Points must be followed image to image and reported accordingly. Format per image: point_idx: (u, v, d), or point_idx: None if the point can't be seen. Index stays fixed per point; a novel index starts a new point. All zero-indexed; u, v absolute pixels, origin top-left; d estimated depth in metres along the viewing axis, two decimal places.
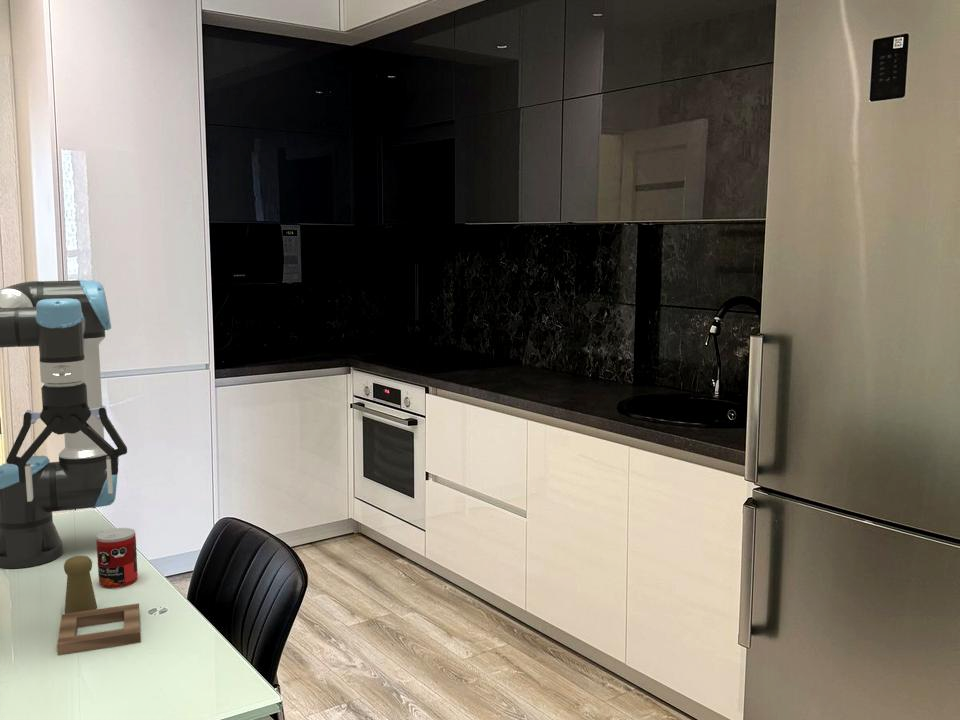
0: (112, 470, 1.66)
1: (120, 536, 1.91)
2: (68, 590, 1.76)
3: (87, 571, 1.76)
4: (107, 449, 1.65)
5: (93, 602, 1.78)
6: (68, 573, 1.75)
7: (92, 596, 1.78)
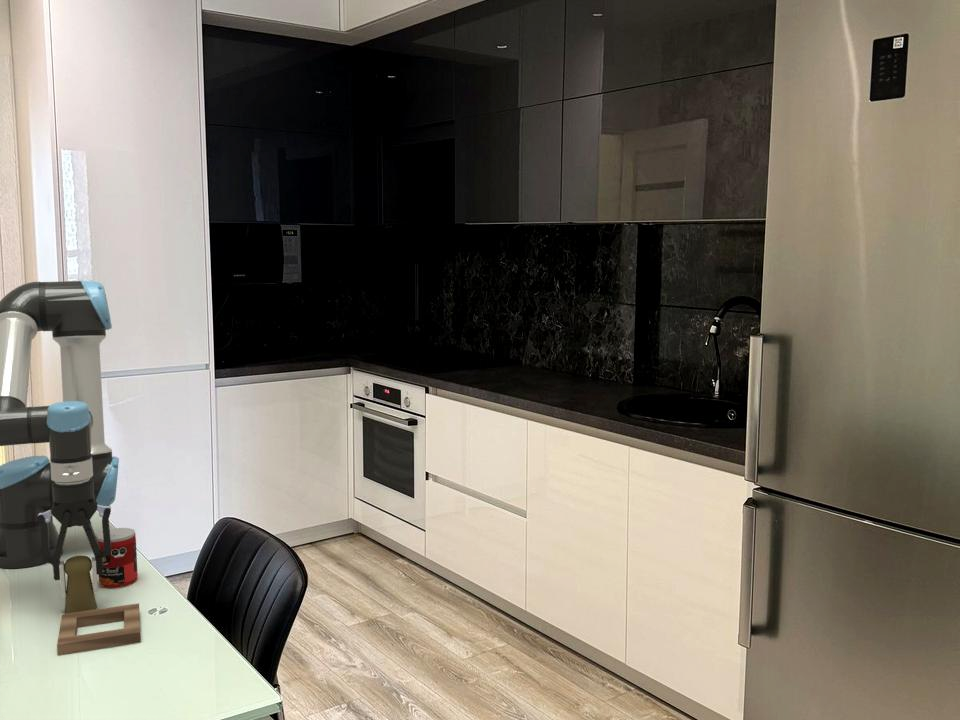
0: (97, 570, 1.78)
1: (120, 536, 1.91)
2: (68, 590, 1.76)
3: (87, 571, 1.76)
4: (96, 549, 1.77)
5: (93, 602, 1.78)
6: (68, 573, 1.75)
7: (92, 596, 1.78)
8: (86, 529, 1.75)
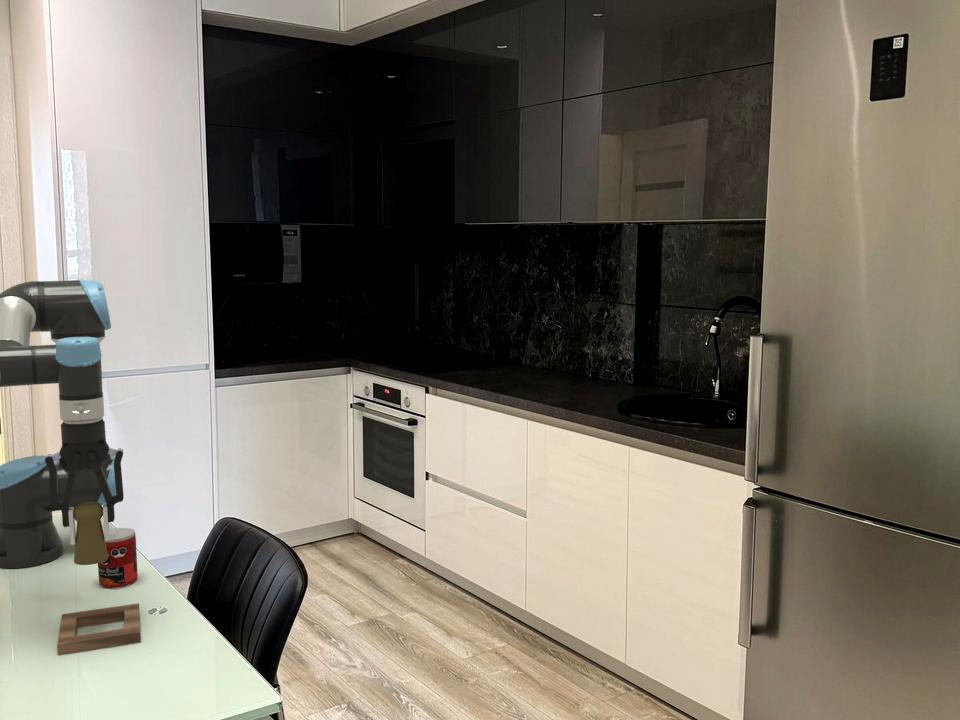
0: (108, 517, 1.67)
1: (120, 536, 1.91)
2: (78, 537, 1.65)
3: (97, 518, 1.66)
4: (108, 495, 1.66)
5: (104, 551, 1.67)
6: (78, 519, 1.64)
7: (103, 545, 1.67)
8: (97, 472, 1.65)
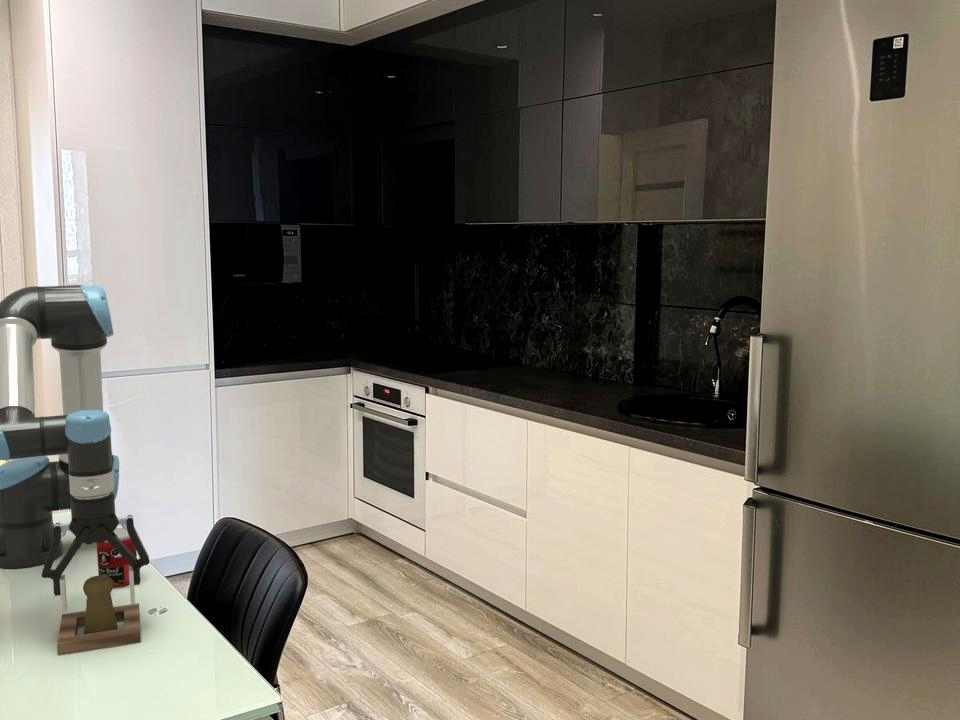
0: (134, 580, 1.68)
1: (120, 536, 1.91)
2: (88, 612, 1.65)
3: (107, 592, 1.66)
4: (131, 560, 1.67)
5: (114, 625, 1.67)
6: (88, 594, 1.65)
7: (113, 618, 1.67)
8: (113, 543, 1.65)
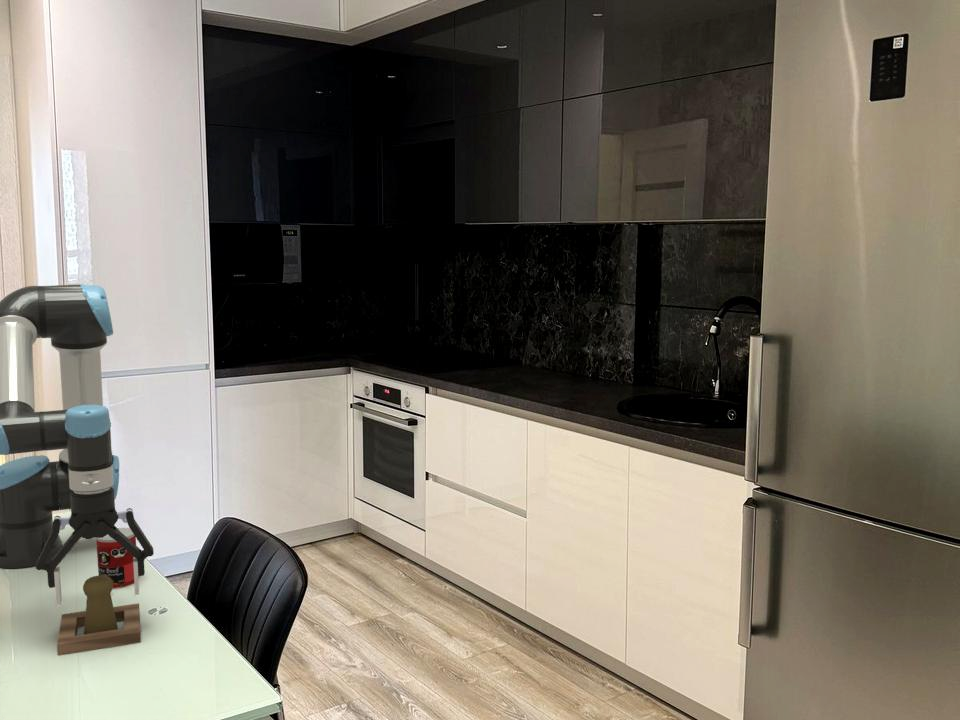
0: (139, 571, 1.68)
1: None
2: (88, 612, 1.65)
3: (107, 592, 1.66)
4: (134, 551, 1.67)
5: (114, 625, 1.67)
6: (88, 594, 1.65)
7: (113, 618, 1.67)
8: (114, 537, 1.65)
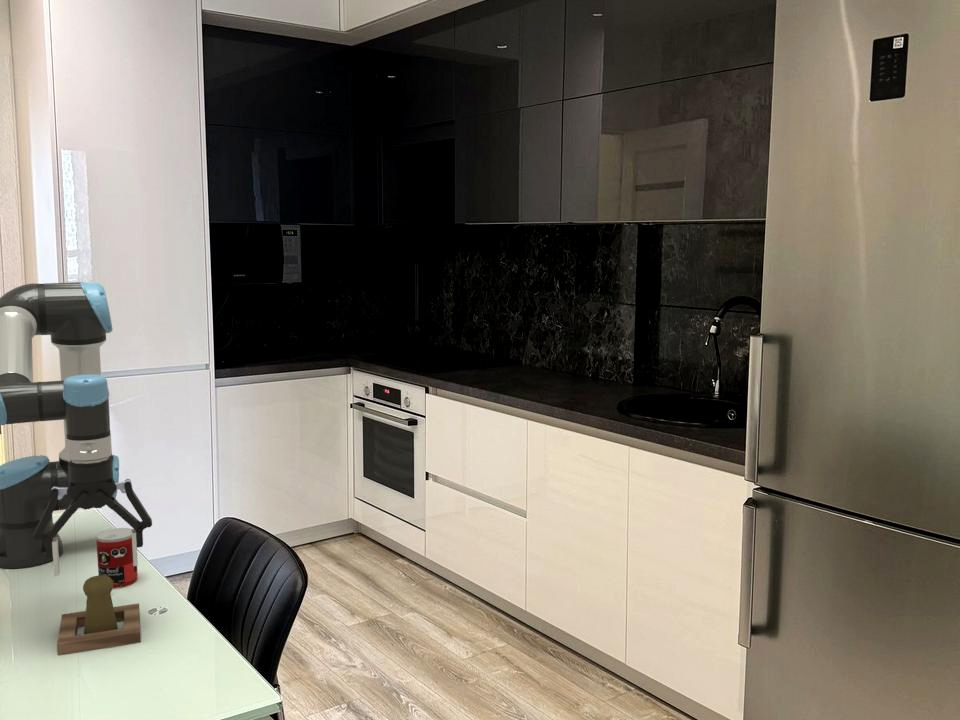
0: (137, 543, 1.68)
1: (120, 536, 1.91)
2: (88, 612, 1.65)
3: (107, 592, 1.66)
4: (133, 522, 1.66)
5: (114, 625, 1.67)
6: (88, 594, 1.65)
7: (113, 618, 1.67)
8: (113, 507, 1.64)
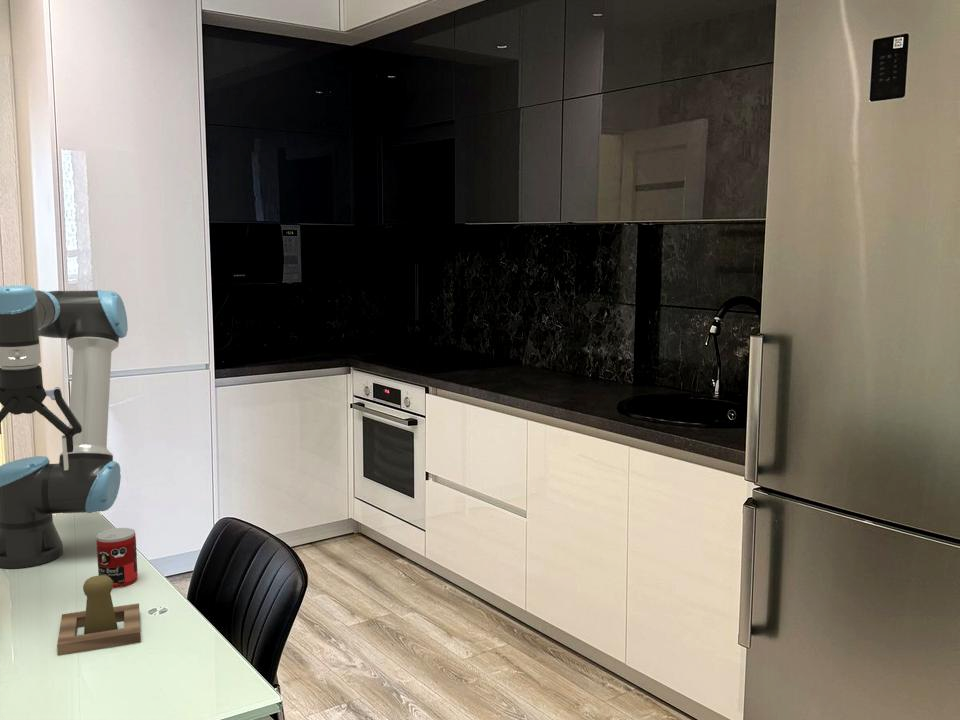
0: (67, 448, 1.75)
1: (120, 536, 1.91)
2: (88, 612, 1.65)
3: (107, 592, 1.66)
4: (63, 428, 1.74)
5: (114, 625, 1.67)
6: (88, 594, 1.65)
7: (113, 618, 1.67)
8: (42, 413, 1.72)
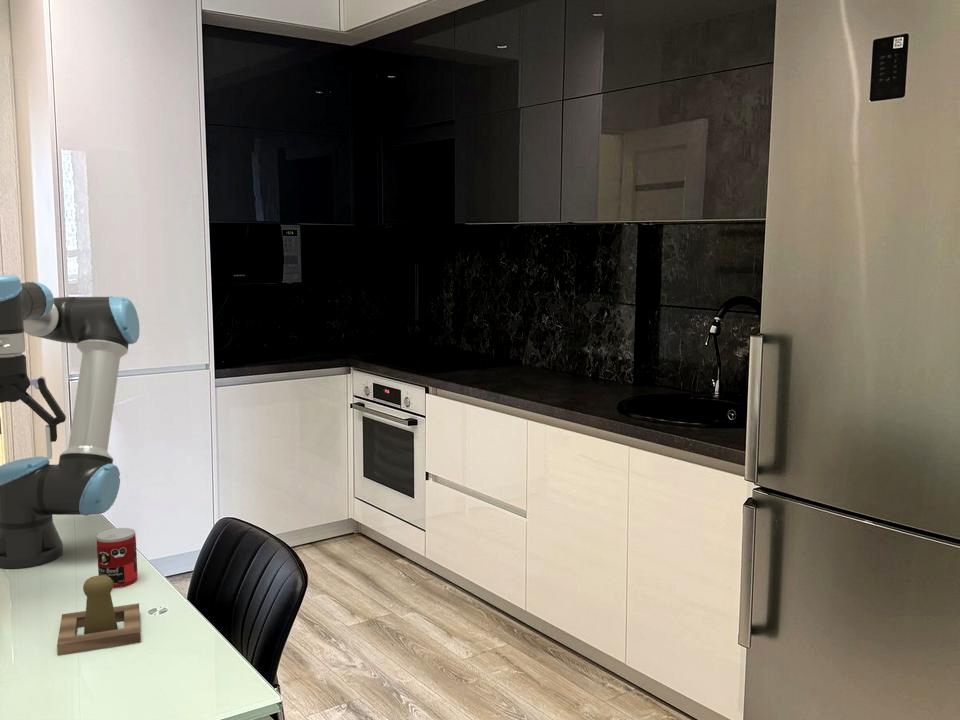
0: (51, 437, 1.76)
1: (120, 536, 1.91)
2: (88, 612, 1.65)
3: (107, 592, 1.66)
4: (46, 417, 1.75)
5: (114, 625, 1.67)
6: (88, 594, 1.65)
7: (113, 618, 1.67)
8: (26, 401, 1.73)
